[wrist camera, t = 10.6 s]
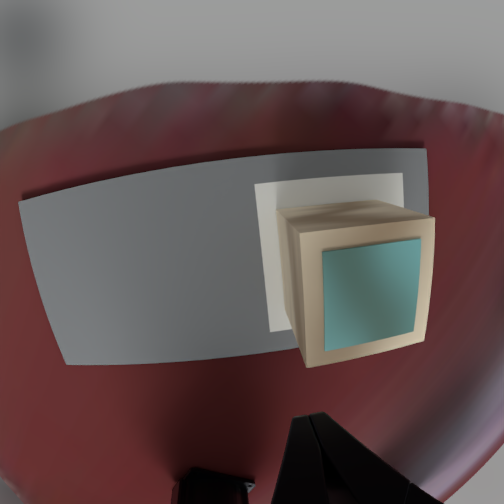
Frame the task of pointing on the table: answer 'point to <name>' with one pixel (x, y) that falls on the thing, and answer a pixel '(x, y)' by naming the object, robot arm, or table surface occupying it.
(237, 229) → the mat
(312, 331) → the birch cube
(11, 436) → the table surface
